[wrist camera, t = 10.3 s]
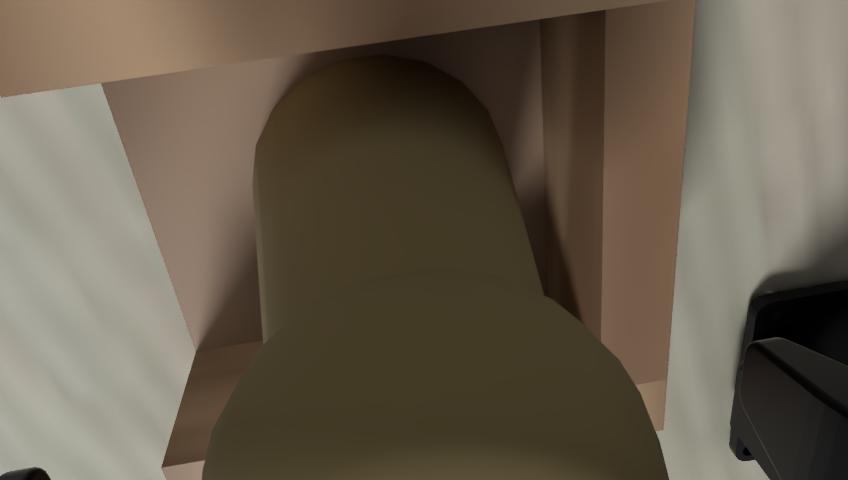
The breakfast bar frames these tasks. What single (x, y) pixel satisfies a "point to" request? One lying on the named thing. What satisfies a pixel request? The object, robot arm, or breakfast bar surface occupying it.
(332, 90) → the cork
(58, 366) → the breakfast bar surface
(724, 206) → the breakfast bar surface
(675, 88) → the wooden box
